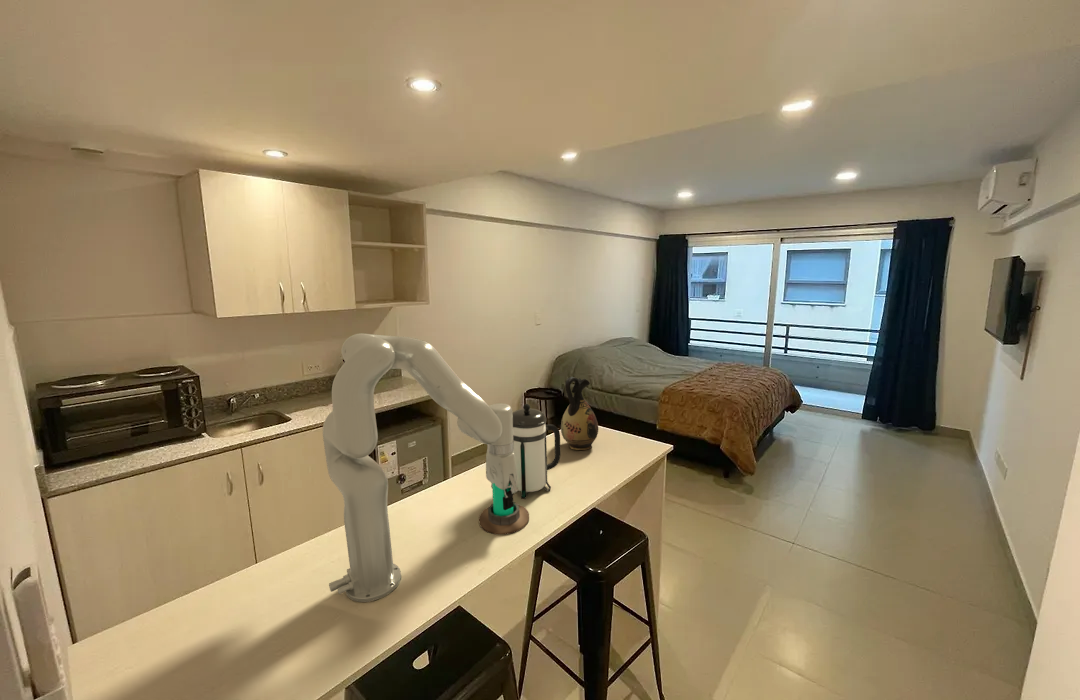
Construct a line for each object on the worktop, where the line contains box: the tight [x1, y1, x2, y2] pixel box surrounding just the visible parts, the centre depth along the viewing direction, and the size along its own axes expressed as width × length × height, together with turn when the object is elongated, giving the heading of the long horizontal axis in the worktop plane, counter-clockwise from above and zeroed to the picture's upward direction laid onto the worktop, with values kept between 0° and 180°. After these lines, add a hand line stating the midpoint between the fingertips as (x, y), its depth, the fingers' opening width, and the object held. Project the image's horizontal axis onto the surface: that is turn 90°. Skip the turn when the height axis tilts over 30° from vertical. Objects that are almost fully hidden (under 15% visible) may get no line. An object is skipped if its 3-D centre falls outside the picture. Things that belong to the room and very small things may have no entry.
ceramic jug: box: [560, 376, 599, 454], centre depth 178 cm, size 17×15×30 cm
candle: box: [491, 483, 513, 516], centre depth 128 cm, size 6×6×12 cm
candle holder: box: [478, 501, 530, 536], centre depth 130 cm, size 15×15×4 cm
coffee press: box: [512, 403, 561, 500], centre depth 146 cm, size 17×16×30 cm
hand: (503, 503), depth 129 cm, fingers closed on candle, 4 cm apart
